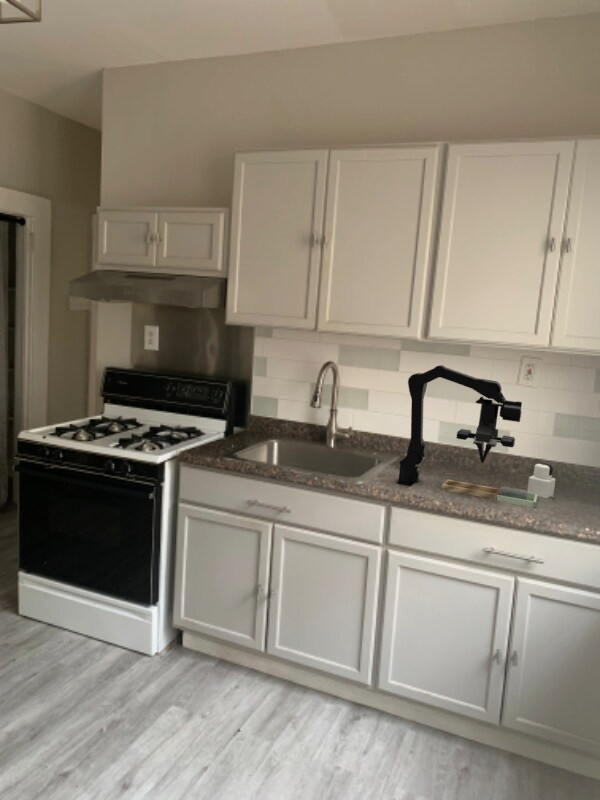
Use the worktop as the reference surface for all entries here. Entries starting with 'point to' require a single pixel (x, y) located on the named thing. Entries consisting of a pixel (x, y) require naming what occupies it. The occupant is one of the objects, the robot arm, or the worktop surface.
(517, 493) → the grey square block
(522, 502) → the green tray
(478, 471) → the worktop surface
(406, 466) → the robot arm
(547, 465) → the medicine bottle
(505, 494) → the grey cube
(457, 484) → the wooden tray
